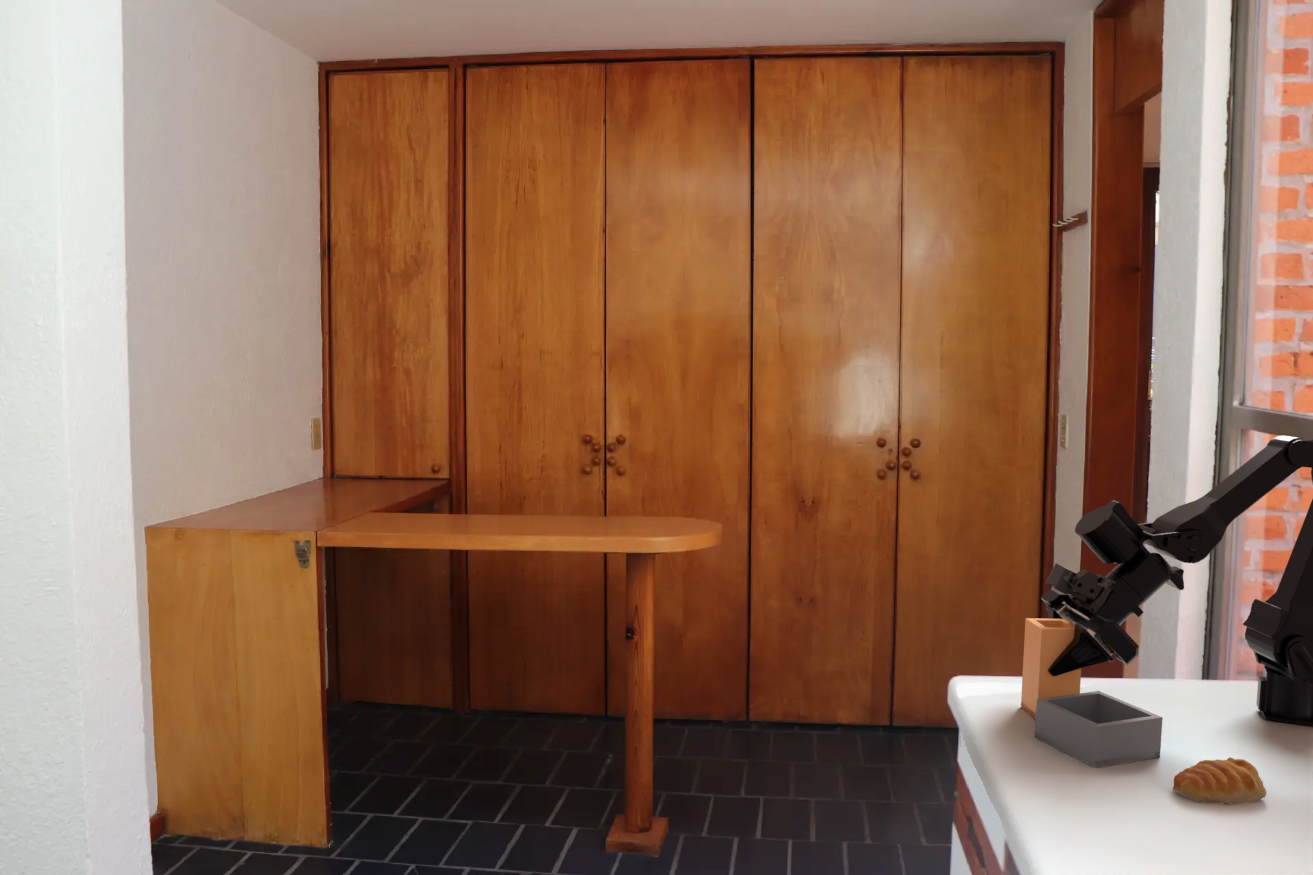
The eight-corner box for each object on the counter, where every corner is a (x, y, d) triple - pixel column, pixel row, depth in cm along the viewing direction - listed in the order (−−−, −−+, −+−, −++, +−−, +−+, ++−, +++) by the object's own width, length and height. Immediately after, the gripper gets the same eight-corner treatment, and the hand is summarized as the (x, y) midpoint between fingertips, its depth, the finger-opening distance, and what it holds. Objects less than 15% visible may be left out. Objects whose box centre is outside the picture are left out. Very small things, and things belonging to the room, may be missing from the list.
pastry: (1201, 812, 112) (1203, 778, 112) (1155, 787, 119) (1157, 754, 119) (1271, 803, 115) (1273, 770, 115) (1222, 779, 122) (1224, 747, 121)
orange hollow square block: (1060, 706, 144) (1065, 618, 143) (1078, 721, 139) (1083, 629, 138) (1020, 706, 144) (1025, 618, 143) (1036, 721, 139) (1041, 629, 138)
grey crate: (1096, 727, 137) (1098, 690, 136) (1159, 756, 127) (1162, 717, 127) (1034, 737, 133) (1036, 698, 132) (1095, 767, 123) (1097, 726, 123)
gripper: (1058, 532, 149) (978, 607, 150) (1120, 559, 130) (1028, 644, 131) (1109, 587, 150) (1030, 661, 150) (1178, 622, 131) (1086, 706, 132)
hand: (1041, 666), depth 141 cm, fingers closed on orange hollow square block, 6 cm apart
